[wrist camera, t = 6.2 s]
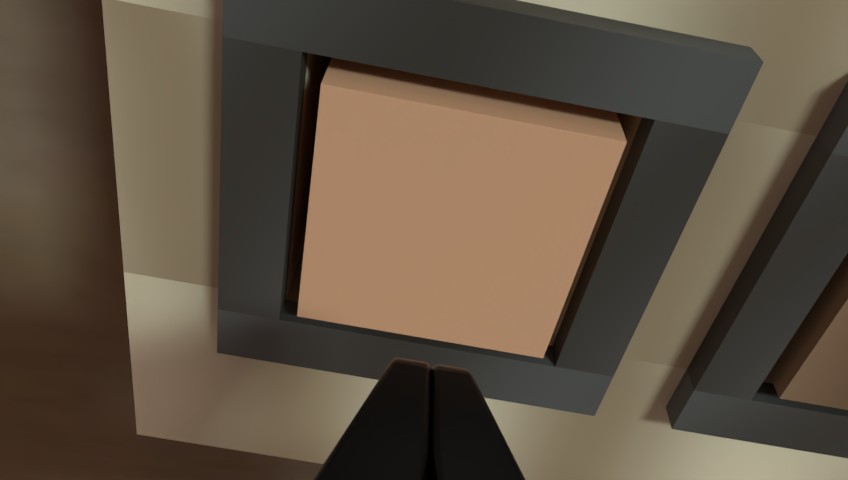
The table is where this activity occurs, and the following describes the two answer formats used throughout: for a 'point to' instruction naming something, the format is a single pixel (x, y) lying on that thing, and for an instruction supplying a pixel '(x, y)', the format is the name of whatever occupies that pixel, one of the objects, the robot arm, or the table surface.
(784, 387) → the peg
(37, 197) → the table surface
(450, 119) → the peg
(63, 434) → the table surface
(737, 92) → the board
